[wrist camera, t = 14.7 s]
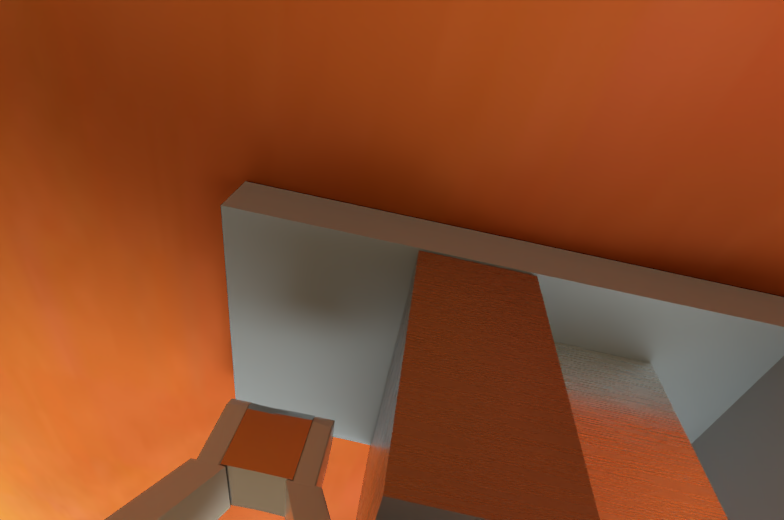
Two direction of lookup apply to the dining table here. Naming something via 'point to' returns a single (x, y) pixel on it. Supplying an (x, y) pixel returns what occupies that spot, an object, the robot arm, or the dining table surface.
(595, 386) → the block
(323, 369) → the vise base
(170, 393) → the dining table surface
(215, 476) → the robot arm
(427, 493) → the jaw
